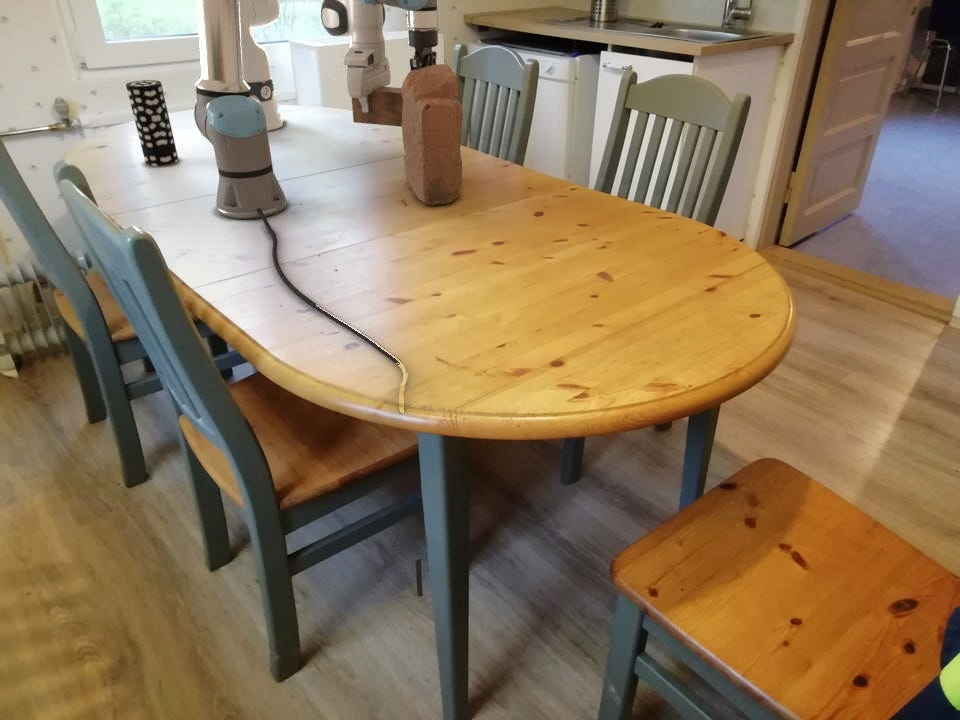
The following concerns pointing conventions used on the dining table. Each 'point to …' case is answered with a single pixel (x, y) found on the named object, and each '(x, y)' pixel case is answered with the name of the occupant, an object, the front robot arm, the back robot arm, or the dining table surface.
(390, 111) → the box
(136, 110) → the black white spotted cylinder
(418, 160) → the stone
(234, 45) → the front robot arm
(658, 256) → the dining table surface
